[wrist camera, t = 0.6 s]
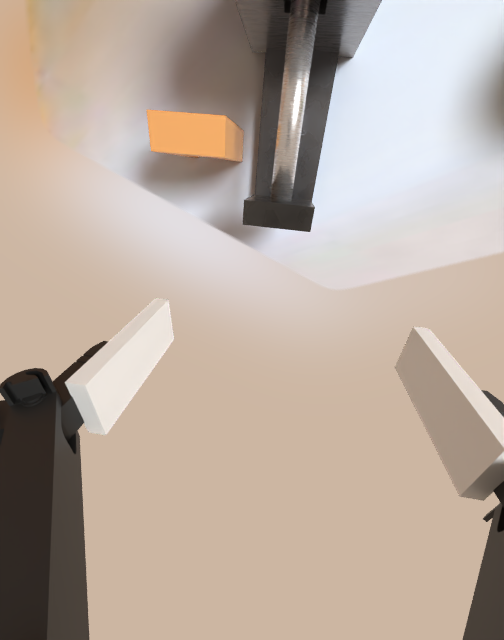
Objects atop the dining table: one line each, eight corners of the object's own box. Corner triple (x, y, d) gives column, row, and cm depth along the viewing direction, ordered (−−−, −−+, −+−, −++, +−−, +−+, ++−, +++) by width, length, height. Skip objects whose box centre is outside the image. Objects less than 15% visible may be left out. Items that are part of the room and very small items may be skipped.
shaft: (267, 13, 20) (258, -43, 15) (343, 16, 19) (361, -41, 14) (252, 215, 28) (242, 224, 23) (307, 220, 27) (310, 231, 22)
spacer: (185, 126, 29) (146, 109, 22) (243, 131, 29) (225, 115, 21) (186, 156, 31) (151, 151, 23) (242, 161, 30) (224, 157, 23)
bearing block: (257, -42, 22) (219, -271, 11) (372, -40, 22) (463, -284, 10) (243, 202, 33) (216, 218, 21) (321, 210, 32) (337, 232, 20)
